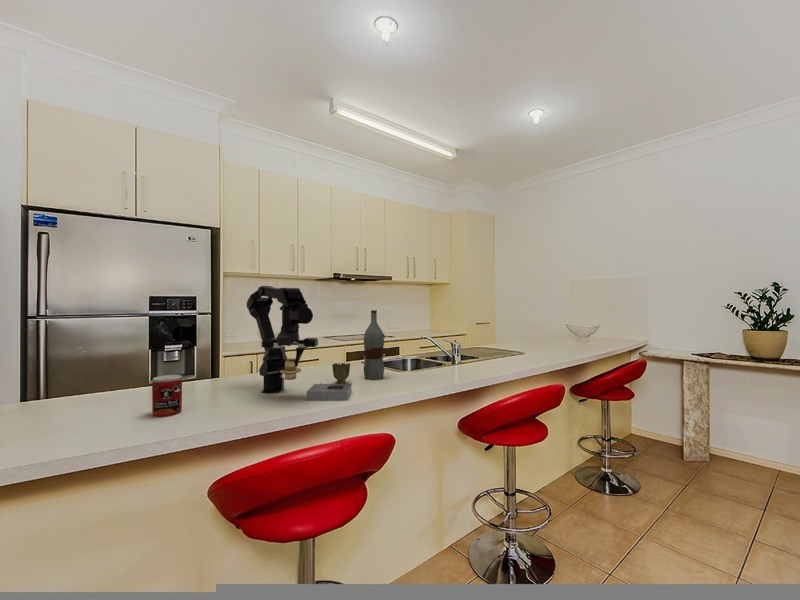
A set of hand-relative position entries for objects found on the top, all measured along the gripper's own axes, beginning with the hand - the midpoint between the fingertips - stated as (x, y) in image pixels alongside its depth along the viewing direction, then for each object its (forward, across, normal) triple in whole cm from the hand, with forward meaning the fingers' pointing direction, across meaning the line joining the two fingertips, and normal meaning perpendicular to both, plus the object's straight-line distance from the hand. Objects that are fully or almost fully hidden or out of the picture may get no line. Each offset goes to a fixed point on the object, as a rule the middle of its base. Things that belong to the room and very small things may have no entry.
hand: (290, 366), depth 133 cm
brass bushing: (+4, 0, 0) cm, 4 cm away
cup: (+11, +15, +22) cm, 29 cm away
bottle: (+11, +28, +32) cm, 44 cm away
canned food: (+11, -32, -19) cm, 39 cm away
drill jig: (+11, +14, +1) cm, 18 cm away
